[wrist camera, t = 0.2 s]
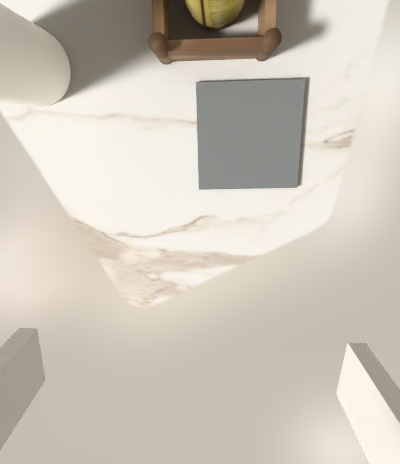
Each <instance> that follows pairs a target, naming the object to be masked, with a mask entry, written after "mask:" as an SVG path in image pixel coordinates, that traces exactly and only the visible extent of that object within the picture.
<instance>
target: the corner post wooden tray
mask: <svg viewBox="0 0 400 464" xmlns="http://www.w3.org/2000/svg"><path fill="white" fill-rule="evenodd" d="M152 8H153V24H154V33H153V34H152V35H151V36H150V38H149V45H150V47H151V49H152V50H153V52H154V53H155V54H156V56H157V57H158V59H159V60H160V61H161V62H162V63H163V64H166V65H167V64H170V63H171V62H172V61H196V60H225V59H254V58H256V59H257V60H258V61H265V60H266V59H267V58H268V57H269V56H270V55H271V53H272V52H273V51H274V50H275V49H276V47H277V46H278V45H279V44H280V42H281V39H282V35H281V32H280V31H279V30H278V29H277V28H276V8H277V0H259V15H258V37H236V38H209V39H182V40H170V33H169V12H168V0H152Z"/></svg>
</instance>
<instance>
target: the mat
mask: <svg viewBox="0 0 400 464" xmlns="http://www.w3.org/2000/svg"><path fill="white" fill-rule="evenodd" d="M305 80H306V79H280V80H249V81H218V82H196V96H197V133H198V170H199V190H201V189H250V188H297V187H298V174H299V160H300V147H301V133H302V120H303V107H304V93H305Z"/></svg>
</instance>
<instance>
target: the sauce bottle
mask: <svg viewBox="0 0 400 464" xmlns="http://www.w3.org/2000/svg"><path fill="white" fill-rule="evenodd" d="M185 2H186V6H187V8H188V10H189V12H190V15H191V16H193V18H194V19H195V20H196V21H197V22H198V23H199V24H200V25H202V26H203V27H205V28H207V29H211V30H219V29H221V28H224V27H226V26H229V25H230V24H232V23H233V21H234V20H235V19H236V18H237V16H238V15H239V13H240V11H241V9H242V7H243V5H244V3H245V0H185Z"/></svg>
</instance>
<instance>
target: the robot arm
mask: <svg viewBox="0 0 400 464" xmlns="http://www.w3.org/2000/svg"><path fill="white" fill-rule="evenodd" d="M44 381H45V375H44V369H43V363H42V356H41V350H40V344H39V338H38V332H37V329H31V328H19V329H18V330H17V331H16V332H15V333H14V334H13V335H12V336H11V337H10V338H9V339H8V340H7V342H5V344H4V345H3V346H2V347H1V348H0V450H1V448H2V446H3V445H4V443H5V442H6V440H7V439H8V437H9V435H10V434H11V432H12V431H13V429H14V428H15V426H16V425H17V423H18V422H19V420H20V419H21V417H22V415H23V414H24V412H25V411H26V409H27V408H28V406H29V404H30V403H31V401H32V400H33V398H34V397H35V395H36V394H37V392H38V391H39V389H40V388H41V386H42V384H43V383H44ZM336 394H337V396H338V399H339V401H340V403H341V405H342V407H343V409H344V411H345V413H346V415H347V417H348V420H349V422H350V424H351V426H352V428H353V430H354V432H355V434H356V436H357V439H358V441H359V442H360V445H361V447H362V449H363V451H364V453H365V455H366V457H367V459H368V462H369V464H400V390H399V388H398V387H397V385H396V384H395V383H394V381H393V380H392V379H391V377H390V376H389V374H388V373H387V372H386V370H385V369H384V367H383V366H382V365H381V363H380V362H379V361H378V359H377V358H376V357H375V355H374V354H373V352H372V351H371V350H370V348H369V347H368V345H367V344H366V343H347V348H346V352H345V356H344V361H343V365H342V370H341V375H340V379H339V383H338V388H337V393H336Z"/></svg>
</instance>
